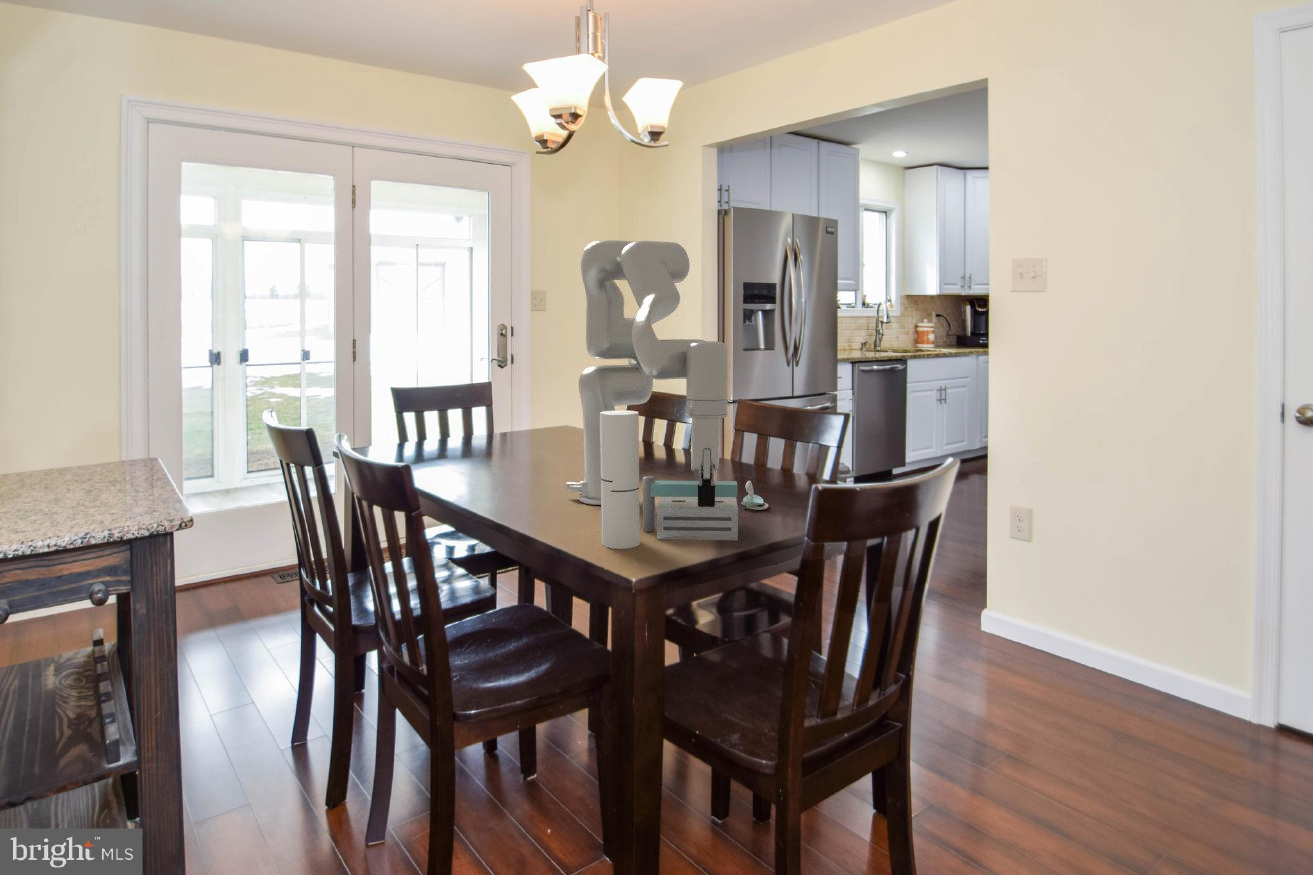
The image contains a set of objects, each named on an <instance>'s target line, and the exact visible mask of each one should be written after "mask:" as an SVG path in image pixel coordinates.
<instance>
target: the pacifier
mask: <svg viewBox="0 0 1313 875" xmlns="http://www.w3.org/2000/svg"><path fill="white" fill-rule="evenodd" d="M745 491H746V492H747V493H748V494H747V495H745V496H744V497H743V499H742V501H741V502H740V504H741V505H742V506H746V508H747V509H748V510H754V511H762V510H766V509H768V508H769V504H768V503H766V502H764V499H763V497H761V496H759V495H757V494H754V491H755V490H754V487H753V484H752V481H751V480H748V481H746V484H745Z"/></svg>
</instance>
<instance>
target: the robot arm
mask: <svg viewBox="0 0 1313 875" xmlns="http://www.w3.org/2000/svg"><path fill="white" fill-rule="evenodd" d="M581 256H582V257H581V260H580V270H581V272H580V273H581V277H582V278H581V279H582V283H583V286H584V290H585V296H586V297H585V298H586V308H585V309H586V310H585V311H586V313H585V314H586V316H585V318H586V319H585V321H586V323H585V344H586V345H585V346H586V350H587V353H588V355H589V356H590V357H592V359H593V358H594V359H595V360H628V364H604V365H603V364H602V365H600V364H599V365H593V366H590V367H587V368H585V369H584V370H583V371H582V372H581V374H579V378H578V392H579V398H580V403H581V407H582V419H583V420H582V421H583V423H582V424H583V451H584V454H583V456H584V460H583V461H584V465H583V466H584V479H583V480H580V481H579V482H575V481H574V482H573V481H570V482H568V481H567V482H566V491H570V492H579V494H578V495H577V496H578V498H577V499H578V501H579V502H581V503H583V504H587V505H593V506H594V505H595V506H601V446H600V412H604V411H616V408H615V407H620V406H621V407H622V406H633V405H634V406H635V405H641V404H642V405H643V404H645V403H647V402H648V401H649V400H650V398H651V396H652V393H653V387H654V380H658V381H659V380H660V381H666V380H680V379H681V380H686V383H685V384H686V385H685V386H686V387H685V388H686V392H685V393H686V394H685V395H686V396H685V397H686V400H685V401H686V405H685V406H686V410H685V411H686V414H685V415H686V416H685V417H687V418H691V435H690V438H691V440H690V444H691V445H690V446H691V448H690V449H691V450H690V457H691V458H690V459H691V460H690V463H691V464H690V465H691V468H690V469H691V471H692V472H693V473H695V472H696V470H698V481H699V484H698V506H699V507H714V506H715V484H714V481H715V472H717V471H718V470H719V464H720V462H719V460H720V452H721V451H720V450H721V419H723V418H727V417H728V357H729V356H728V354H729V352H728V346H727V345H726V344H725V342H722V341H717V340H716V341H714V340H713V341H712V340H710V341H709V340H704V339H696V338H695V339H694V338H692V339H690V338H688V339H684V338H683V339H682V338H681V339H678V338H677V339H674V338H673V339H669V338H668V339H659V338H658V337H657V335H656V333H655V330H654V328H653V324H656V323H657V322H660V321H661V320H664V319H665V318H667V317H669V316H670V315H672V314H673V313H674V312H675V311H676V309H678V307H679V305H680V301H681V294H680V292H679V290H678V288H677V286H676V284H678V283H681V282H684V280H685V279H686V278H687V277H688V274H689V272H690V258H689V255H688V253H687V250H686V249H685V248H684V247H683V246H682V245H681V244H680V243H678V242H674V241H673V242H671V241H660V240H659V241H657V240H637V241H634V240H633V241H631V240H621V239H620V240H617V239H605V240H604V239H602V240H596V241H593V242H591V243H589V244H587V246H586V247H584V250H583V252H582V255H581ZM615 281H626V282H627V284H628V285H629V288H630V290H631V293H632V294H633V297H634V299H635V302H636V304H637V306H638V312H637V313H636V314H635V317H625V298H624V294H623V292H622V291H621V288H620V287H619V286H618V284H617V282H615Z"/></svg>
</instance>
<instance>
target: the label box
mask: <svg viewBox="0 0 1313 875" xmlns="http://www.w3.org/2000/svg"><path fill="white" fill-rule="evenodd" d="M737 500H738V499H737V497H715V506H714V507H699V506H698V497H659V500H658V503H657V504H658V505H657V508H656V540H669V541H670V540H673V541H674V540H675V541H676V540H677V541H678V540H679V541H680V540H682V541H738V538H739V535H738V532H739V523H738V522H739V507H738V501H737Z"/></svg>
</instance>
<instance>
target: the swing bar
mask: <svg viewBox="0 0 1313 875" xmlns="http://www.w3.org/2000/svg"><path fill="white" fill-rule="evenodd" d="M698 484H699V480H656V478H655V476H653V475H648V476H647V475H646V476H643V477H642V530H643V532H653V531H655V530H656V498H657V497H659V498H660V497H698ZM714 484H715V497H736V498H738V482H737V481H736V480H734V481H732V480H714Z"/></svg>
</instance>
